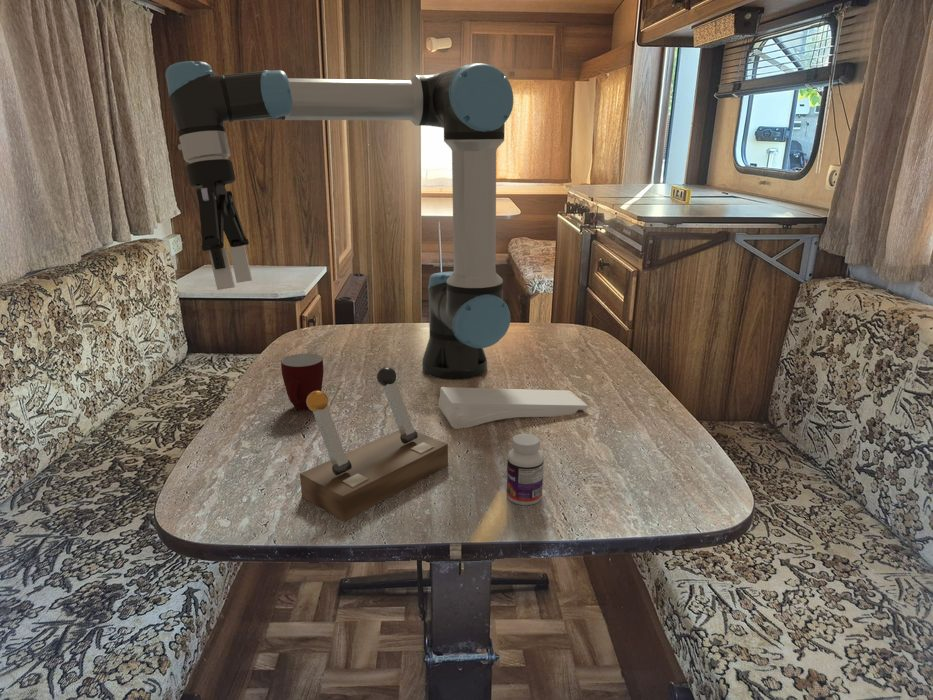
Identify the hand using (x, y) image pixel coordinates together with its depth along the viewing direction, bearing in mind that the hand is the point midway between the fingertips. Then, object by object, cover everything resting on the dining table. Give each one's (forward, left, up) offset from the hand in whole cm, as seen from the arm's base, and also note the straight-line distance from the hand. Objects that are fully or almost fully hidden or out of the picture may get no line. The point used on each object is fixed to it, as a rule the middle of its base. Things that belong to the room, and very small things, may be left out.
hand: (236, 285), depth 116 cm
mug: (-10, -5, -27) cm, 29 cm away
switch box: (-18, +28, -27) cm, 43 cm away
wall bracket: (-49, +10, -28) cm, 57 cm away
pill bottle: (-38, +40, -27) cm, 62 cm away
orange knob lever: (-12, +32, -22) cm, 40 cm away
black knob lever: (-24, +25, -22) cm, 41 cm away
